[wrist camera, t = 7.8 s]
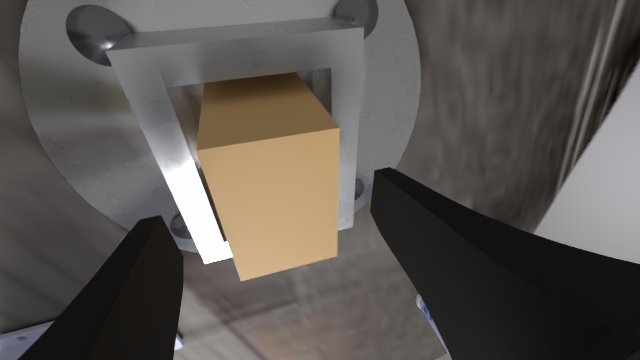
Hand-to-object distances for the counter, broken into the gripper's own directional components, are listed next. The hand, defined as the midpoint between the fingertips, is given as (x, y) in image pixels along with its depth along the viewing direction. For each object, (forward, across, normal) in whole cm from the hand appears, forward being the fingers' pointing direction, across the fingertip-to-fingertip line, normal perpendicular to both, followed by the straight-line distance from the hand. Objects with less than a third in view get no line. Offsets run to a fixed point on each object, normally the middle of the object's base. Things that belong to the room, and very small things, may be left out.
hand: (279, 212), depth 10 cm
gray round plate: (+7, 0, 0) cm, 7 cm away
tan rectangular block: (+6, 0, 0) cm, 6 cm away
